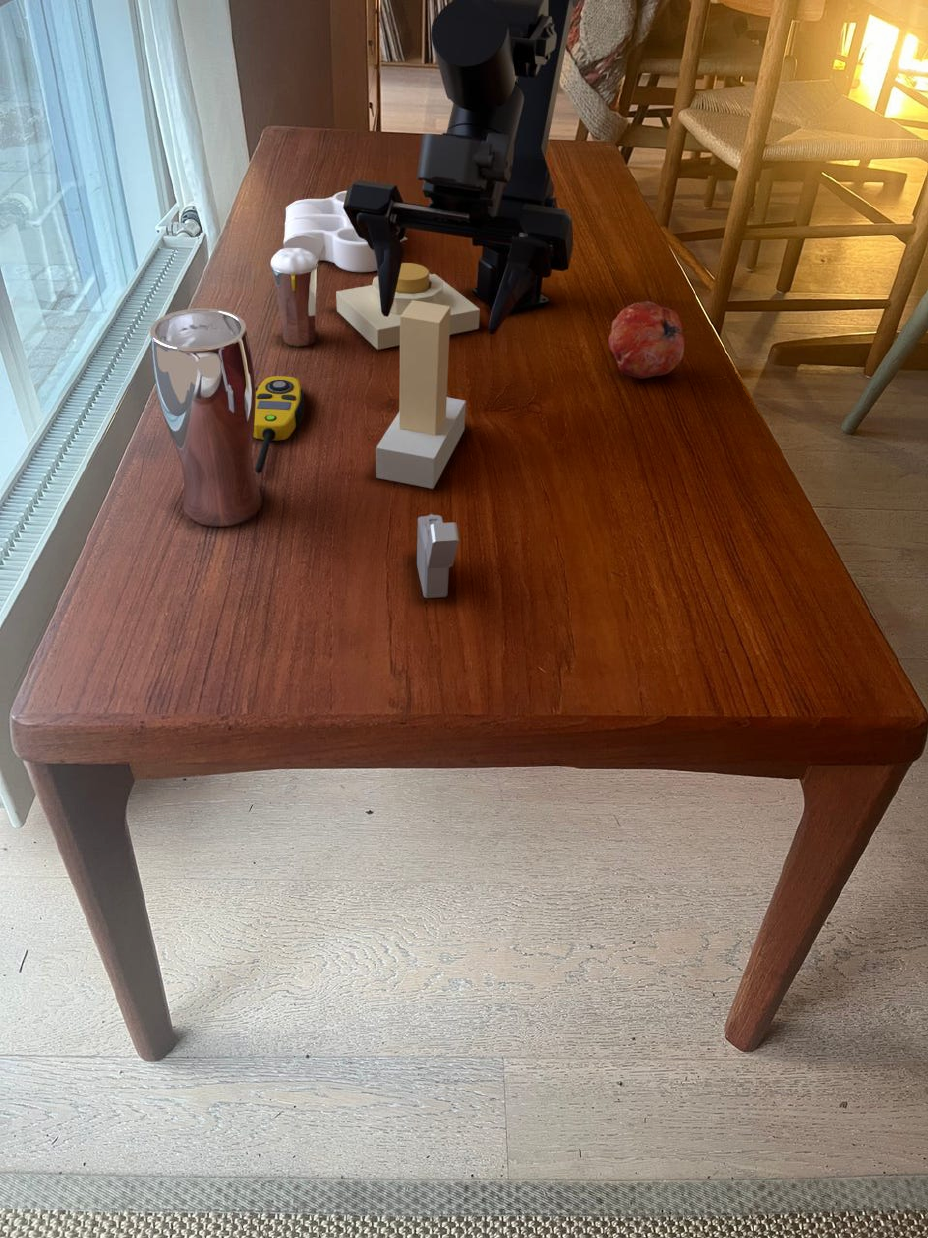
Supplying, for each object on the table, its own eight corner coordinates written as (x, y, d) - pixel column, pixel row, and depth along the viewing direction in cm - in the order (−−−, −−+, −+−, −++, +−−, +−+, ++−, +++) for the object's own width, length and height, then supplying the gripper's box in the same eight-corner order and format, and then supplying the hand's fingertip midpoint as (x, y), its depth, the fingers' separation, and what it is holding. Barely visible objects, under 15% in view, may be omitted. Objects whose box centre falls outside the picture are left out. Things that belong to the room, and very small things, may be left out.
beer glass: (282, 491, 80) (266, 317, 70) (240, 539, 75) (217, 359, 65) (207, 473, 81) (181, 299, 71) (161, 518, 76) (126, 338, 66)
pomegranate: (589, 387, 100) (638, 369, 91) (586, 314, 100) (634, 288, 90) (653, 387, 102) (707, 369, 93) (650, 316, 102) (704, 291, 92)
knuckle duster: (287, 215, 125) (401, 216, 127) (284, 272, 112) (411, 272, 114) (285, 188, 123) (401, 190, 125) (281, 243, 110) (411, 244, 112)
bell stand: (434, 292, 110) (435, 257, 108) (479, 328, 104) (481, 292, 101) (336, 310, 105) (335, 274, 103) (377, 349, 99) (377, 312, 96)
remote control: (308, 373, 91) (286, 460, 80) (310, 392, 92) (288, 480, 81) (256, 371, 91) (226, 458, 79) (258, 389, 92) (229, 478, 81)
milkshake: (321, 353, 98) (316, 254, 91) (270, 346, 98) (261, 247, 92) (334, 334, 101) (331, 237, 95) (285, 327, 102) (278, 230, 95)
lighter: (416, 562, 74) (418, 473, 68) (439, 561, 74) (442, 472, 69) (430, 625, 68) (433, 534, 63) (454, 623, 69) (459, 532, 63)
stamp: (464, 429, 88) (472, 291, 80) (433, 489, 81) (438, 343, 72) (411, 420, 89) (414, 281, 80) (376, 477, 82) (374, 332, 73)
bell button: (416, 276, 104) (416, 259, 103) (436, 291, 102) (436, 275, 101) (379, 282, 103) (379, 266, 102) (398, 299, 100) (398, 282, 99)
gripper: (347, 69, 75) (301, 263, 74) (586, 99, 72) (540, 302, 71) (381, 150, 86) (341, 319, 85) (589, 179, 83) (549, 355, 82)
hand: (437, 323), depth 81 cm, fingers open, 9 cm apart
